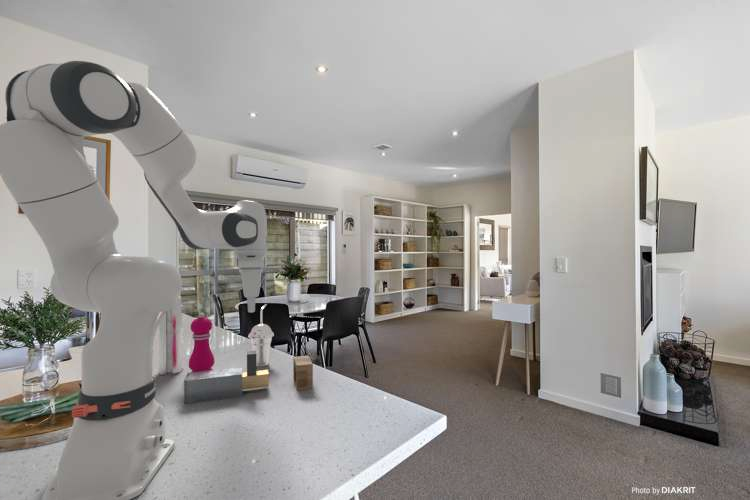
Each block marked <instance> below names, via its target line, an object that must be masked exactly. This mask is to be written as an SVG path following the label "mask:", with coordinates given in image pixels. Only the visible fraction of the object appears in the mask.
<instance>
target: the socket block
mask: <svg viewBox="0 0 750 500" xmlns="http://www.w3.org/2000/svg"><path fill="white" fill-rule="evenodd" d="M292 362H293V363H292V364H293V369H292V370H293V372H292V373H293V374H292V375H293V376H292V377H293V383H294V385H295V389H296V391H300V390H301V391H302V390H308V388H309V389H313V388H314V381H313V380H314V379H313V377H314V373H313V371H314V368H313V367H314V364H313V362H312V360H311V358H310V356H309V355H301V356H293V360H292Z"/></svg>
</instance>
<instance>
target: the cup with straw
mask: <svg viewBox="0 0 750 500" xmlns="http://www.w3.org/2000/svg"><path fill="white" fill-rule="evenodd" d="M267 305H268V304H267V303H264V305H263V306H262V307H261V308H260V314H259V315H260V317H259V318H260V323H258V324H256V325H254V326H253V327H252V328H251V331H250V333H249V334H248V336H247V338H248V339H250V343H251V344H250V345H251V348H252V351H256V363H257V367H264V366H267V365H268V364H269V359H270V350H271V343H272V338H273V337H274V336H275V334H274V332H273V331H272V328H271V327H270V325H269V324H267V323H263V322H264V321H263V312H264V311H263V310H264V309H265V308H266V306H267Z"/></svg>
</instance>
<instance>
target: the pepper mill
mask: <svg viewBox="0 0 750 500" xmlns="http://www.w3.org/2000/svg"><path fill="white" fill-rule="evenodd" d="M197 316H198V317H197V318H195V319H194V320H193V321H192V322H191V323H190V331H191V332H192V333H193V334H192V339H193V340H194V341H193V342H194V344H193V350H192V351H191V354H190V356H189V360H188V368H189V369H190V370H191V372H200V371H209V370H214V369H213V366H214V365H215V357H214V354H213V352H212V349H211V347H210V338H211V332H210V331H211V330H212V328H213V322H212V320H211V319H210V318H208V317H205V313H204V312H199V313H198V315H197Z"/></svg>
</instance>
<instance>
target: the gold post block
mask: <svg viewBox="0 0 750 500" xmlns="http://www.w3.org/2000/svg"><path fill="white" fill-rule="evenodd" d="M257 367H258V366H257V363H256V351H253V350H248V351H246V371H242V391H245V390H246V391H247V390H253V389H261V388H268V387H269V386H270V381H269V379H270V377H269V376H270V371H269V369H263V370H258V369H257Z"/></svg>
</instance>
